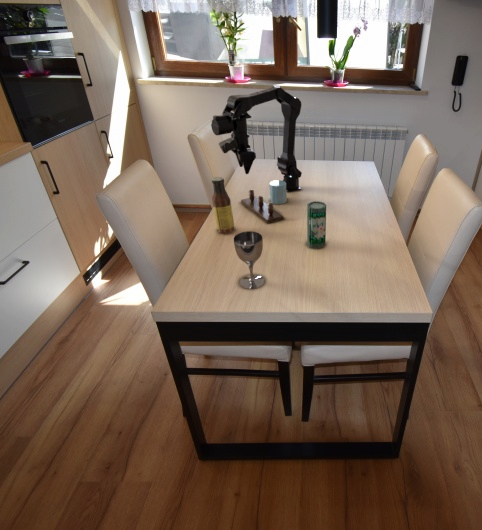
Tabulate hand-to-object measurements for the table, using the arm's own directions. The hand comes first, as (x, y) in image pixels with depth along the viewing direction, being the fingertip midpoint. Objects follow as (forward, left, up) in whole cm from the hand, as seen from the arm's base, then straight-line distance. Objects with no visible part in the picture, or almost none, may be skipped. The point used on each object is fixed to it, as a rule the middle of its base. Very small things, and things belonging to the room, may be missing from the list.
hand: (244, 170), depth 158 cm
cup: (-12, +7, -14) cm, 19 cm away
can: (-4, +47, -14) cm, 49 cm away
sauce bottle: (+18, +20, -14) cm, 30 cm away
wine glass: (+25, +55, -14) cm, 62 cm away
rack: (-1, +12, -14) cm, 18 cm away
